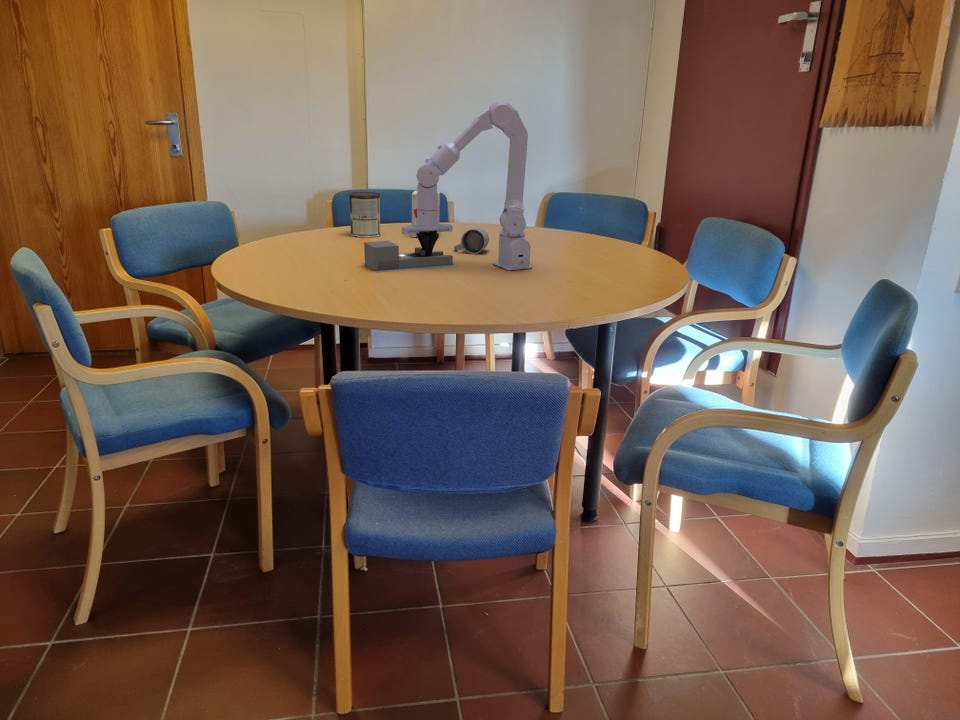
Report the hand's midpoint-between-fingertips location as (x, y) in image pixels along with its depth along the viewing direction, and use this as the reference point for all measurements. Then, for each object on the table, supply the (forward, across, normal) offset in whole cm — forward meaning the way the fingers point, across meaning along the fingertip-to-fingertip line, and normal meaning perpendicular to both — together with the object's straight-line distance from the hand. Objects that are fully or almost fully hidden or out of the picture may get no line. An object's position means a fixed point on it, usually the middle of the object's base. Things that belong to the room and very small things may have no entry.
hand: (427, 258), depth 196 cm
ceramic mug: (+2, -21, -14) cm, 25 cm away
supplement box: (+2, -18, -44) cm, 48 cm away
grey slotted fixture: (+2, +4, 0) cm, 4 cm away
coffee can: (+2, +1, -52) cm, 52 cm away
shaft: (+1, +6, 0) cm, 6 cm away
